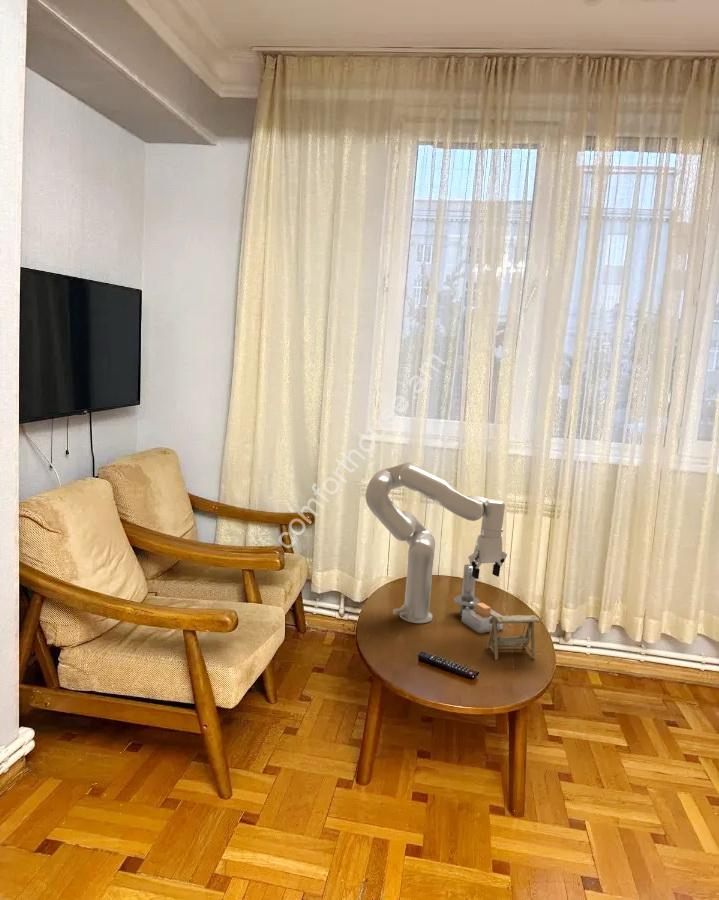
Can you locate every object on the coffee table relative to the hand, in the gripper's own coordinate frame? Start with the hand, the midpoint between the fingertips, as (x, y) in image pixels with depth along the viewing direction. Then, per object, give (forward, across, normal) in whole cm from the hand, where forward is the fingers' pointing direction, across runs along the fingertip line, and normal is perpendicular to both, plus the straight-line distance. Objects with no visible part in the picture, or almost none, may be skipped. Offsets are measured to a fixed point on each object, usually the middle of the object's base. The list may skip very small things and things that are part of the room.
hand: (485, 576), depth 256 cm
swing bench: (+19, +5, +24) cm, 31 cm away
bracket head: (+19, -1, -4) cm, 20 cm away
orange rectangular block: (+19, -1, +1) cm, 19 cm away
